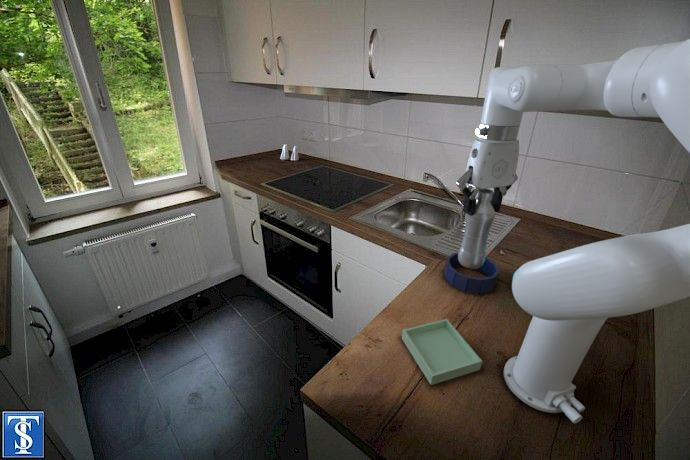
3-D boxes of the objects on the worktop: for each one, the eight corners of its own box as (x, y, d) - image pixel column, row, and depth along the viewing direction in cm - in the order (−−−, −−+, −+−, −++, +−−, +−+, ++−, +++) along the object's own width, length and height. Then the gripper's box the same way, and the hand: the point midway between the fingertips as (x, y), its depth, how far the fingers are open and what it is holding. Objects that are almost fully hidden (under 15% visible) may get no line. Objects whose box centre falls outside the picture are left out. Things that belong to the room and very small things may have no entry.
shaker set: (280, 161, 211) (279, 145, 206) (281, 159, 215) (279, 143, 210) (298, 161, 212) (297, 144, 207) (298, 159, 216) (297, 143, 211)
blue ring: (505, 287, 93) (509, 274, 91) (463, 297, 89) (467, 283, 87) (473, 261, 105) (476, 249, 103) (435, 269, 101) (437, 256, 99)
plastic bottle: (465, 273, 77) (482, 197, 68) (451, 259, 83) (464, 187, 74) (488, 270, 78) (507, 194, 69) (472, 256, 84) (487, 185, 75)
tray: (479, 369, 68) (482, 361, 67) (430, 385, 65) (432, 376, 63) (445, 326, 79) (446, 318, 78) (401, 338, 76) (402, 329, 74)
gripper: (473, 138, 60) (458, 222, 68) (545, 133, 65) (523, 213, 73) (451, 132, 67) (439, 209, 75) (517, 128, 71) (500, 202, 79)
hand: (481, 211), depth 74 cm, fingers closed on plastic bottle, 6 cm apart
